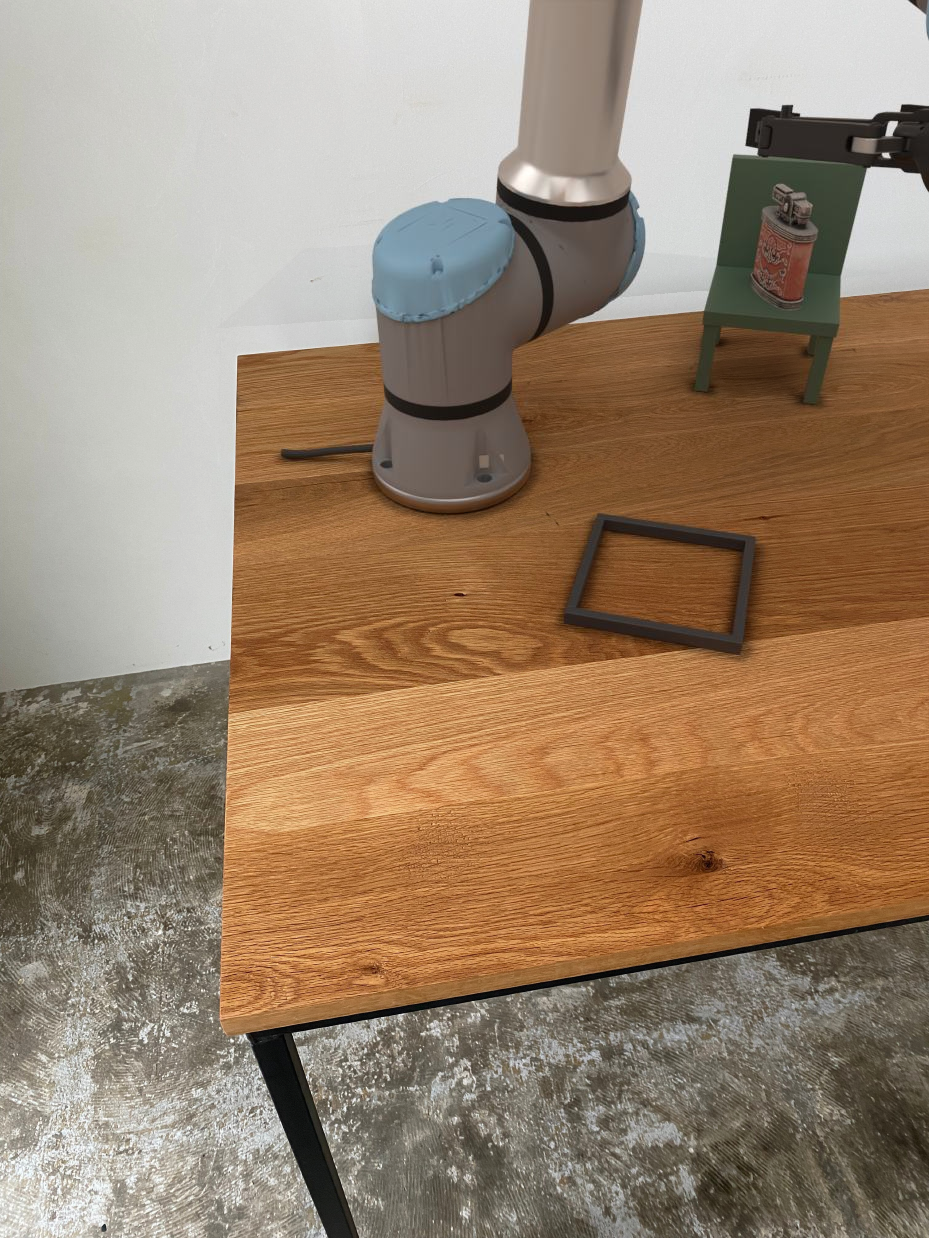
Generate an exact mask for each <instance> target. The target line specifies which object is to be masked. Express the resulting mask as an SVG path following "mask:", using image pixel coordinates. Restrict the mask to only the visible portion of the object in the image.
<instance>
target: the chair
mask: <svg viewBox="0 0 929 1238" xmlns="http://www.w3.org/2000/svg"><path fill="white" fill-rule="evenodd" d="M867 170H868V168H863V166H859V165H853V164H846V163H837V162H826V161H815V160H804V159H793V158H782V157H771V156H769V157H766V158H765V157H762V156H758V155H755V154H753V155H752V154H737V153H734V154H733V155H732V158H731V164H730V171H729V178H728V184H727V185H728V186H727V191H726V198H725V203H724V204H725V205H724V212H723V219H722V225H721V230H720V238H719V244H718V250H717V255H716V256H717V257H716V262H715V263H716V264H715V267H714V272H713V275H712V279H711V283H710V287H709V290H708V294H707V298H706V302H705V306H704V310H703V314H702V321H701V325H703V329H702V336H701V342H700V343H701V344H700V349H699V357H698V363H697V370H696V375H695V376H696V377H695V383H694V391H696V392H705V393H708V392H709V387H710V382H711V376H712V369H713V362H714V358H715V357H714V356H715V352H716V351H715V350H716V346H719V344H720V339H721V333H722V328H732V329H740V330H741V329H743V330H752V331H763V332H772V333H773V332H774V333H782V334H783V333H784V334H793V335H802V336H809V341H808V344H807V350H806V353H807V355H811V356H812V360H811V363H810V368H809V371H808V372H809V373H808V376H807V380H806V385H805V390H804V394H803V400H802V403H803V404H806V405H807V404H808V405H816V406H817V405H818V403H819V398H820V395H821V390H822V387H823V383H824V379H825V375H826V371H827V367H828V362H829V358H830V355H831V350H832V347H833V342H834V339H836V338H837V336H838V332H839V328H840V325H841V324H840V321H841V320H840V319H841V318H840V317H841V287H842V286H841V285H842V283H841V282H842V273H843V269H844V265H845V262H846V257H847V252H848V248H849V245H850V240H851V236H852V232H853V228H854V224H855V219H856V216H857V211H858V208H859V203H860V199H861V195H862V191H863V186H864V183H865V180H866V179H865V178H866V175H867V172H868V171H867ZM777 184H784V185H786V186H787V187H789V188H790V189H792V190H793V192H794V193H801V192H804V193H805V194H806V197H807V201H808V202H809V203H811V204H812V210H811V215H810V217H809V221H810V222H811V223H813V224H814V226H815V227H816V228H817V229H818V234H817V239H816V240H815V241H814V243H813V247H812V252H811V256H810V261H809V266H808V270H807V275H806V279H805V284H804V288H803V293H802V296H803V302H802V306H801V308H799V309H796V310H782V309H779V308H777V307H775V306H774V305H772V304H770V303H769V302H767V301H766V300H764V299H763V298H762V297H760V296H759V295H758V294H757V293H756V292H755V291H754V289H753V288H752V286H751V285H750V277H751V274H752V273H753V271H754V265H755V260H756V254H757V249H758V243H759V238H760V232H761V226H762V221H763V219H762V218H761V215H762V210H763V208H765V207H768V206H778V205H779V204H780V203H778V202H777V201H775V200H774V199H773V198H772V194H773V189H774V187H775V186H776V185H777Z"/></svg>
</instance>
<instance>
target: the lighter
mask: <svg viewBox="0 0 929 1238" xmlns="http://www.w3.org/2000/svg"><path fill="white" fill-rule="evenodd" d="M772 198H773V199H774V200H775V201H777V202H778V203H780V204H779V205H778V206H768V207H765V208H763V210H762V215H761V218H762V219H763V221H762V226H761V232H760V238H759V243H758V249H757V254H756V260H755V265H754V271H753V273H752V274H751V277H750V285H751V286H752V288H753V289H754V291H755V292H756V293H757V294H758V295H759V296H760V297H762V298H763V299H764V300H766V301H767V302H769V303H770V304H772V305H774V306H775V307H777V308H779V309H782V310H796V309H799V308H801V306H802V302H803V296H802V293H803V288H804V284H805V279H806V275H807V270H808V266H809V261H810V256H811V252H812V247H813V243H814V241H815V240H816V239H817V234H818V229H817V228H816V227H815V226H814V224H813V223H811V222H810V221H809V217H810V215H811V210H812V204H811V203H809V202H808V201H807V197H806V194H805V193H804V192H801V193H794V192H793V190H792V189H790V188H789V187H787V186H786V185H784V184H777V185H776V186H775V187H774V189H773V194H772Z"/></svg>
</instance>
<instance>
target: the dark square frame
mask: <svg viewBox="0 0 929 1238" xmlns="http://www.w3.org/2000/svg"><path fill="white" fill-rule="evenodd" d="M604 530H605V531H610V532H616V533H624V534H631V535H637V536H644V537H649V538H655V539H662V540H668V541H669V540H671V541H676V542H681V543H688V544H689V543H690V544H695V545H702V546H708V547H714V548H721V549H726V550H727V549H728V550H735V551H741V552H742V558H741V559H742V560H741V565H740V573H739V581H738V587H737V594H736V602H735V608H734V616H733V624H732V629H731V634H729V633H724V632H718V631H713V630H708V629H707V630H706V629H700V628H695V627H689V626H685V625H684V626H683V625H678V624H671V623H666V622H661V621H655V620H650V619H649V620H648V619H644V618H637V617H631V616H627V615H621V614H614V613H609V612H604V611H597V610H591V609H586V608H580V606H581V603H582V599H583V596H584V593H585V590H586V587H587V584H588V581H589V578H590V575H591V571H592V568H593V565H594V562H595V559H596V555H597V553H598V550H599V546H600V543H601V540H602V537H603V534H604V532H605V531H604ZM756 540H757V537H756V536H755V535H749V534H748V535H747V534H741V533H736V532H728V531H721V530H716V529H707V528H701V527H694V526H689V525H682V524H674V523H668V522H661V521H656V520H655V521H654V520H647V519H642V518H635V517H634V518H633V517H628V516H622V515H614V514H608V513H600V512H598V513H597V514H596V516H595V520H594V523H593V525H592V529H591V531H590V534H589V537H588V540H587V544H586V546H585V550H584V552H583V556H582V559H581V562H580V564H579V567H578V571H577V573H576V576H575V580H574V583H573V586H572V589H571V592H570V594H569V597H568V600H567V602H566V607H565V609H564V612H563V623H564V624H567V625H573V626H578V627H579V626H580V627H583V628H588V629H589V628H590V629H596V630H600V631H606V632H610V633H616V634H623V635H629V636H633V637H640V638H645V639H650V640H655V641H661V642H667V643H672V644H679V645H683V646H684V645H685V646H689V647H695V648H701V649H706V650H711V651H712V650H713V651H717V652H722V653H728V654H733V655H734V654H735V655H741V652H742V648H743V643H744V637H745V629H746V621H747V612H748V604H749V595H750V589H751V580H752V572H753V566H754V565H753V564H754V557H755V548H756Z"/></svg>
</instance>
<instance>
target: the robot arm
mask: <svg viewBox="0 0 929 1238" xmlns="http://www.w3.org/2000/svg"><path fill="white" fill-rule="evenodd" d="M907 1H908V2H909V3H910V4H911V5H913V6H914V7H916V9H918V10H919V11H921V12H922V13H923V14H924V15H925V28H926V29H925V31H926V35H927V36H926V37H927V39H928V41H929V0H907ZM643 4H644V0H529V4H528V5H529V6H528V15H527V16H528V17H527V30H526V41H525V54H524V64H523V77H522V89H521V100H520V101H521V102H520V113H519V125H518V135H517V146H516V147H515V148H514V149H513V150H512V151H511V152H510V153H509V154H507V156H505V157H504V158H503V159H502V160H501V161H500V163H499V165H498V167H497V175H496V177H497V180H496V191H495V192H496V193H495V203H494V202H492V201H489V200H486V199H480V198H472V197H453V198H449V199H448V200H447V201H443V202H439V201H438V200H433V201H430V202H426V203H423V204H420V205H417V206H415V207H412V208H410V209H408V210H406V211H403V212H402V213H400V214H398V215H397V216H396V217H395V216H394V218H392V219H391V220H390V221H389V222H388V223H387V224H386V225H384V227H382V229H381V231H380V232H379V234H378V235H377V237H376V239H375V241H374V243H373V249H372V254H371V260H372V261H371V262H372V263H371V264H372V279H371V296H372V297H371V298H372V300H373V303H374V305H375V314H376V324H377V334H378V343H379V353H380V354H379V355H380V364H381V374H382V381H383V382H382V383H383V394H384V402H383V406H382V410H381V414H380V418H379V422H378V426H377V430H376V434H375V437H374V441H373V443H369V444H355V445H353V444H351V445H339V446H329V447H321V448H319V447H318V448H313V449H312V448H311V449H289V448H282V449H280V456H281V458H291V459H304V458H305V459H306V458H307V459H309V458H317V457H319V458H320V457H326V456H335V455H349V454H350V455H351V454H366V453H371V466H372V472H373V474H372V475H373V479H374V482H375V485H376V486H377V487H378V489H379V490H380V491H381V492H382V493H383V494H384V495H385V496H386V497H387V498H389V499H391V500H392V501H394V502H395V503H398V504H400V505H402V506H404V507H407V508H410V509H413V510H417V511H421V512H427V513H436V514H459V513H460V514H461V513H467V512H474V511H478V510H482V509H486V508H489V507H492V506H495V505H498V504H499V503H502V502H504V501H506V500H507V499H509V498H511V497H512V496H513V495H516V493H517V492H519V491H520V490H521V489H523V487H524V485H525V484H526V483H527V481H528V479H529V478H530V474H531V471H532V450H531V449H532V448H531V445H530V441H529V437H528V434H527V431H526V429H525V426H524V423H523V420H522V418H521V415H520V412H519V409H518V407H517V403H516V401H515V398H514V396H513V353H514V352H515V350H516V349H518V348H520V347H523V346H524V345H526V344H528V343H531V342H533V341H535V340H537V339H539V338H542V337H544V336H546V335H548V334H550V333H552V332H555V331H558V330H559V329H561V328H563V327H565V326H568V325H569V324H572V323H574V322H576V321H578V320H581V319H584V318H587V317H589V316H592V315H594V314H595V313H597V312H599V311H601V310H602V309H604V308H605V307H606V306H608V305H609V304H610V303H612V302H613V301H615V300H616V299H617V298H619V297H620V296H621V295H622V294H624V293H625V292H626V291H627V290H628V288H629V287H630V286H631V285H632V284H633V282H634V280H635V278H636V277H637V275H638V272H639V270H640V267H641V265H642V262H643V259H644V254H645V249H646V224H645V220H644V217H642V216H640V215H639V212H638V210H639V208H640V207H641V206H640V204H639V202H638V199H637V197H636V196H635V193H634V192H633V191H632V190H631V189H632V182H633V177H632V175H631V172H630V171H629V170H628V169H627V167H626V166H625V164H624V163H623V162H622V161H621V159H620V157H619V151H620V144H621V138H622V132H623V127H624V120H625V113H626V109H627V102H628V96H629V95H628V94H629V89H630V83H631V77H632V70H633V64H634V58H635V54H636V53H635V52H636V46H637V40H638V34H639V28H640V23H641V15H642V10H643ZM793 109H794V104H782V105H781V108H780V110H776V109H768V108H761V107H756V108H749V115H748V121H747V122H748V123H747V130H746V138H745V147H749V148H754V149H757V153H756V154H757V155H756V156H762V157H765V158H766V157H769V156H771V157H782V158H793V159H804V160H815V161H826V162H837V163H846V164H853V165H859V166H863V168H867V169H871V168H884V169H885V168H886V169H900V170H901V171H902V172H903V173H906V174H916V175H917V174H919V175H920V177H921V181H922V184H923V185H924V188H925V190H926V191H927V192H928V193H929V105H923V104H912V103H905V104H904V103H903V104H901V105H900V109H899V111H882V112H877V113H876V114H874V116H873V117H872V118H851V117H849V118H847V117H821V116H801V113H800V112H793ZM890 122H897V124H896V126H895V128H894V130H893V132H892V134H891V135H887V131H888V125H889V123H890ZM883 154H889V157H885V156H884V155H883Z"/></svg>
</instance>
